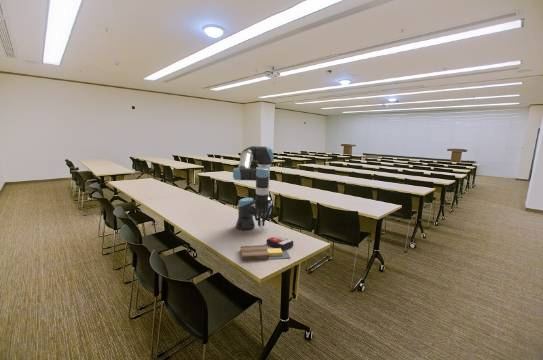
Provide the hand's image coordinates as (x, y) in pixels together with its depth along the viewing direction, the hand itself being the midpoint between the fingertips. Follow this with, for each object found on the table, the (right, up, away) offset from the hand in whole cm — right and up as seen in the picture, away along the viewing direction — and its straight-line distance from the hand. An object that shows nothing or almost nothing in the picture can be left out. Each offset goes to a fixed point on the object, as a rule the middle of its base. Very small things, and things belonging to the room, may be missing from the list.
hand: (261, 230), depth 157 cm
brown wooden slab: (-4, -15, +1) cm, 16 cm away
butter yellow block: (+8, -15, +4) cm, 18 cm away
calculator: (+12, -13, +17) cm, 24 cm away
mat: (+10, -15, +4) cm, 19 cm away
